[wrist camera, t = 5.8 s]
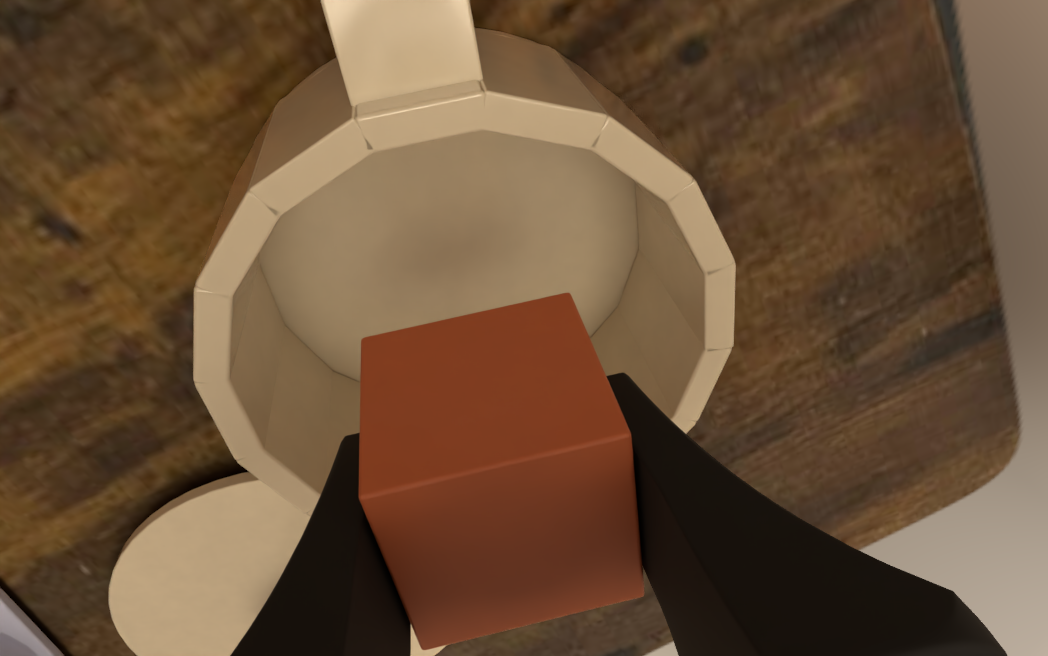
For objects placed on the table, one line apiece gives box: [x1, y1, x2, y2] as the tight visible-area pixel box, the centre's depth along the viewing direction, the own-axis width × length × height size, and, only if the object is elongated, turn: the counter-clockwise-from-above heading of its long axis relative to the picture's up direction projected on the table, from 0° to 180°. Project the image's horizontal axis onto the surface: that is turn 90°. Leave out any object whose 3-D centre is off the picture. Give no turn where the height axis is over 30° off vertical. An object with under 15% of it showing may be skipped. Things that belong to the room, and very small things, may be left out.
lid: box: [108, 472, 446, 656], centre depth 25 cm, size 12×12×5 cm
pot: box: [193, 0, 736, 516], centre depth 18 cm, size 11×17×6 cm
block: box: [359, 293, 644, 650], centre depth 13 cm, size 4×4×4 cm
